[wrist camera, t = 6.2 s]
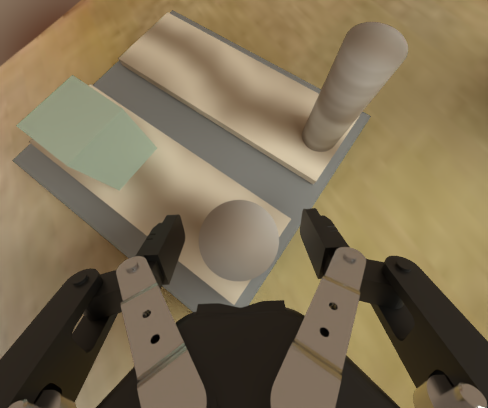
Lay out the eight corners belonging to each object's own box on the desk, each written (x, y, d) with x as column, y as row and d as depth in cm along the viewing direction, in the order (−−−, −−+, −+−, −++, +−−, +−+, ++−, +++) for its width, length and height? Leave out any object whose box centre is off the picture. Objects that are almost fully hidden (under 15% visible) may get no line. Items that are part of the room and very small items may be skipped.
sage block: (118, 121, 18) (72, 74, 14) (157, 148, 18) (123, 109, 13) (80, 160, 18) (16, 125, 13) (119, 190, 17) (66, 165, 12)
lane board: (174, 18, 24) (172, 10, 23) (366, 121, 20) (370, 116, 19) (21, 164, 19) (12, 160, 19) (227, 335, 15) (226, 339, 15)
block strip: (96, 90, 20) (-14, -27, 12) (289, 220, 17) (332, 188, 8) (37, 146, 19) (-137, 59, 10) (234, 302, 15) (217, 369, 7)
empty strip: (170, 20, 23) (122, -121, 14) (355, 121, 19) (444, 13, 10) (122, 65, 21) (37, -62, 13) (313, 184, 17) (376, 119, 9)
